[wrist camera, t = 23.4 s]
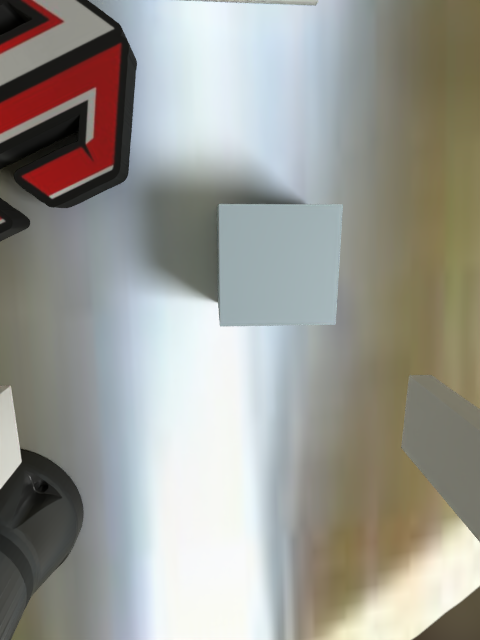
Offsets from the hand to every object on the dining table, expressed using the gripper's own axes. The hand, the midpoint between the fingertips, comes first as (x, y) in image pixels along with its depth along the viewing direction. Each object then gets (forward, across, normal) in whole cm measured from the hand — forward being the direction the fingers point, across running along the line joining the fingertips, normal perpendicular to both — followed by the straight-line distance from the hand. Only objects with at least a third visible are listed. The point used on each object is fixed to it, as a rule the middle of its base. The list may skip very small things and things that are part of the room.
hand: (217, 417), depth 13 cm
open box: (+27, -5, -3) cm, 27 cm away
